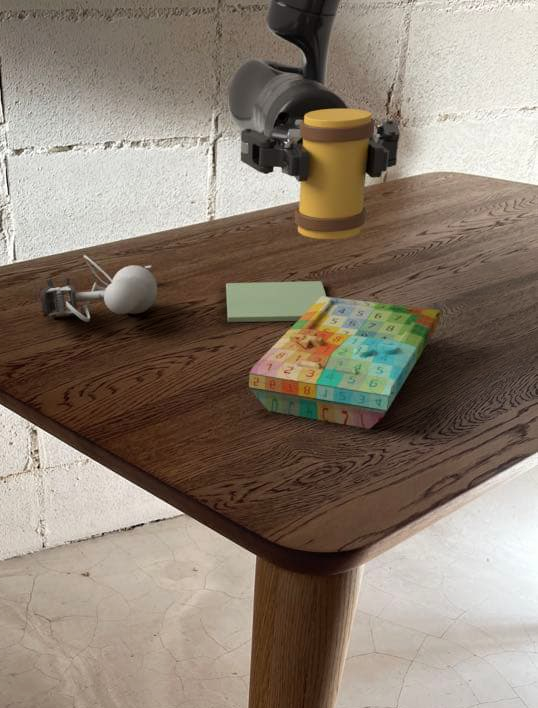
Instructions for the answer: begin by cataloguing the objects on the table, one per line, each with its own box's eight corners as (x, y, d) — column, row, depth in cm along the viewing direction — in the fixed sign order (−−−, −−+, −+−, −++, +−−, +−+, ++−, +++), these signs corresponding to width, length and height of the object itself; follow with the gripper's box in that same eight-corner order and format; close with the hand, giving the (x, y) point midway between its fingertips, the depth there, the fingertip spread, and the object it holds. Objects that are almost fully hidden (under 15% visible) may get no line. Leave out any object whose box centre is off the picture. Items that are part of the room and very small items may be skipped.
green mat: (321, 286, 101) (321, 280, 101) (332, 320, 92) (332, 315, 92) (226, 288, 102) (226, 283, 102) (227, 322, 93) (227, 317, 93)
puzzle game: (249, 363, 72) (321, 287, 87) (247, 414, 75) (318, 332, 90) (390, 385, 68) (442, 301, 82) (383, 438, 70) (435, 348, 85)
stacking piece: (363, 221, 76) (375, 107, 71) (364, 240, 71) (376, 120, 66) (296, 220, 77) (302, 108, 72) (292, 240, 72) (298, 121, 67)
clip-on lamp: (78, 309, 107) (34, 331, 91) (71, 254, 105) (25, 267, 88) (172, 301, 104) (145, 322, 88) (168, 245, 102) (139, 257, 86)
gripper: (227, 86, 80) (252, 119, 66) (383, 77, 80) (440, 108, 66) (226, 172, 85) (249, 220, 71) (374, 164, 84) (426, 210, 71)
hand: (341, 165), depth 69 cm, fingers closed on stacking piece, 5 cm apart
